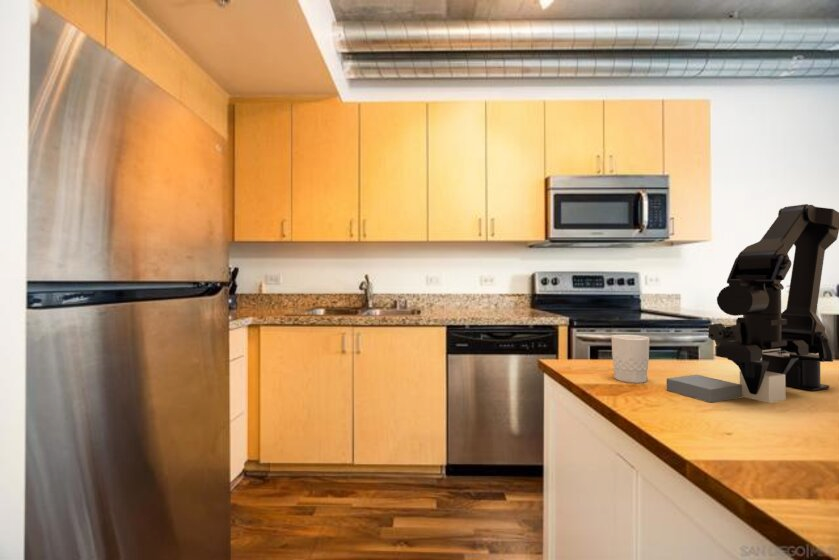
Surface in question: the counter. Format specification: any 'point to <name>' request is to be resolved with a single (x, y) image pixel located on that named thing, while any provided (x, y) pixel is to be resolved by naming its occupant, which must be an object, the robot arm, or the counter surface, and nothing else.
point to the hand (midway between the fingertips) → (762, 392)
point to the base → (704, 388)
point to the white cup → (630, 357)
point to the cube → (767, 388)
